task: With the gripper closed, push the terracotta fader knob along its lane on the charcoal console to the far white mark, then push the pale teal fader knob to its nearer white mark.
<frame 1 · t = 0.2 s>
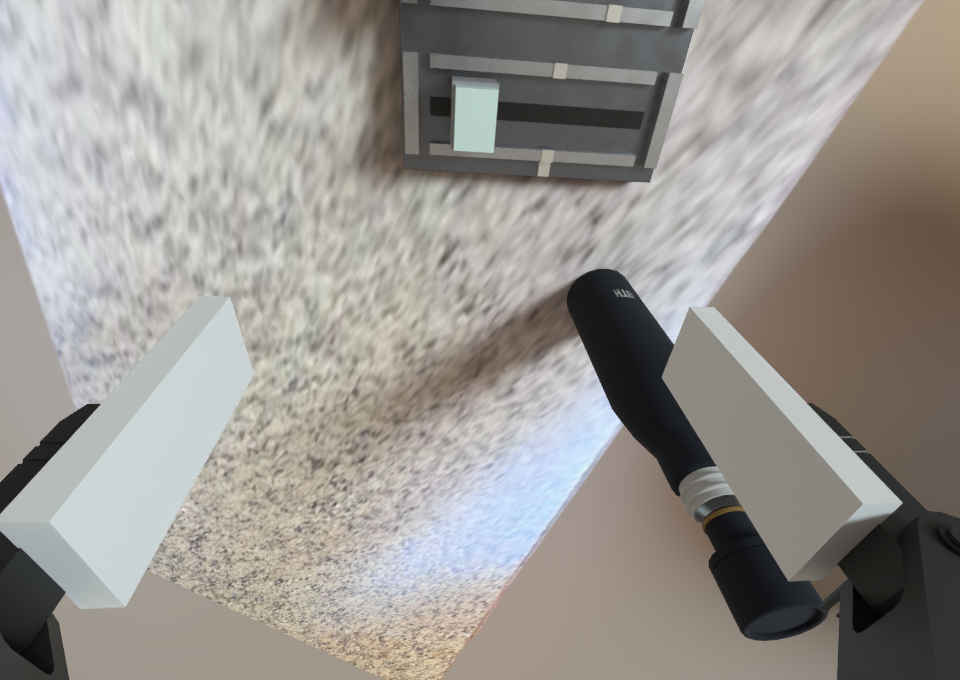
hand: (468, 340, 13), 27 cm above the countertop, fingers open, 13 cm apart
black water bottle: (597, 295, 44), on the countertop
console: (542, 39, 31), on the countertop
knob b: (473, 114, 29), point 5 cm above the countertop, slide at 2.0 cm
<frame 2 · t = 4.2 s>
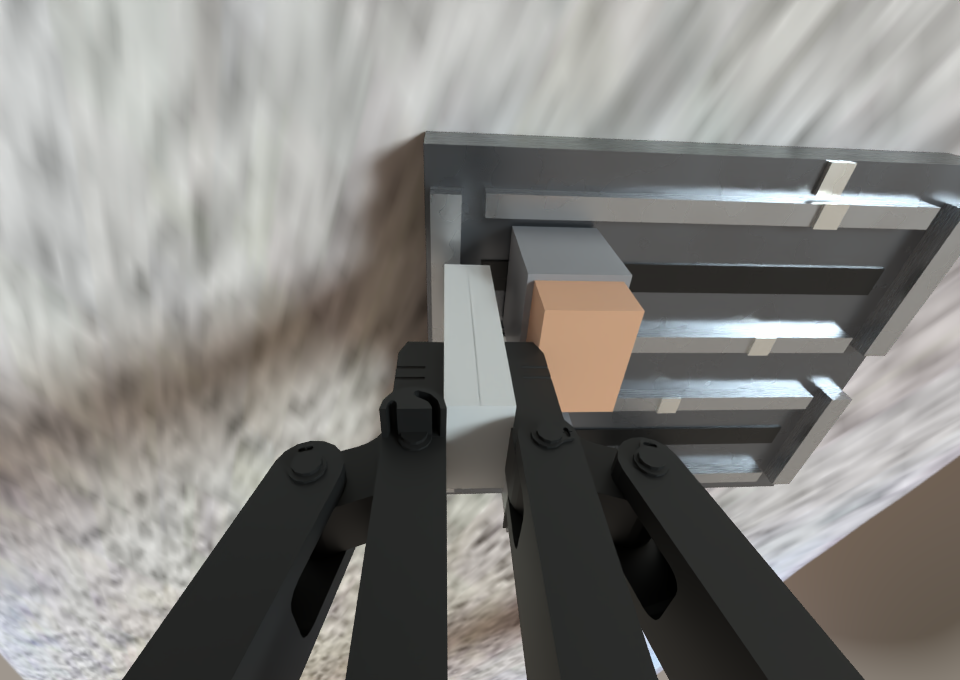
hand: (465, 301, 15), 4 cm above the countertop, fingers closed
knob a: (561, 315, 14), point 5 cm above the countertop, slide at 1.5 cm, touching gripper
console: (636, 341, 21), on the countertop
knob b: (540, 485, 19), point 5 cm above the countertop, slide at 2.0 cm
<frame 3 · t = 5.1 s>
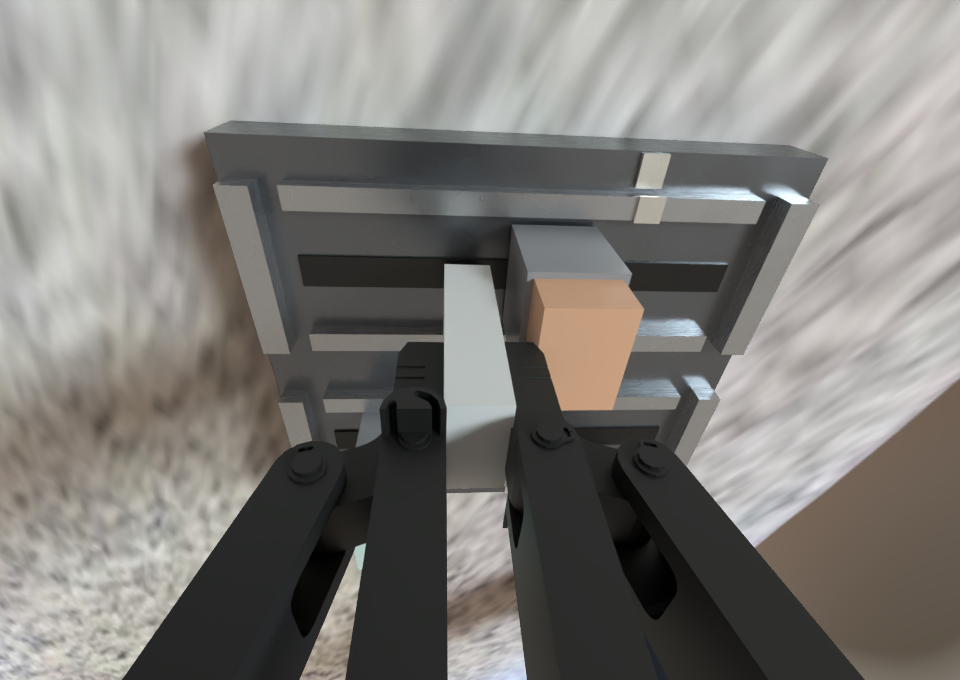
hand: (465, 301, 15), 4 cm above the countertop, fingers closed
knob a: (561, 314, 14), point 5 cm above the countertop, slide at 8.0 cm, touching gripper
console: (504, 340, 21), on the countertop
knob b: (393, 487, 19), point 5 cm above the countertop, slide at 2.0 cm
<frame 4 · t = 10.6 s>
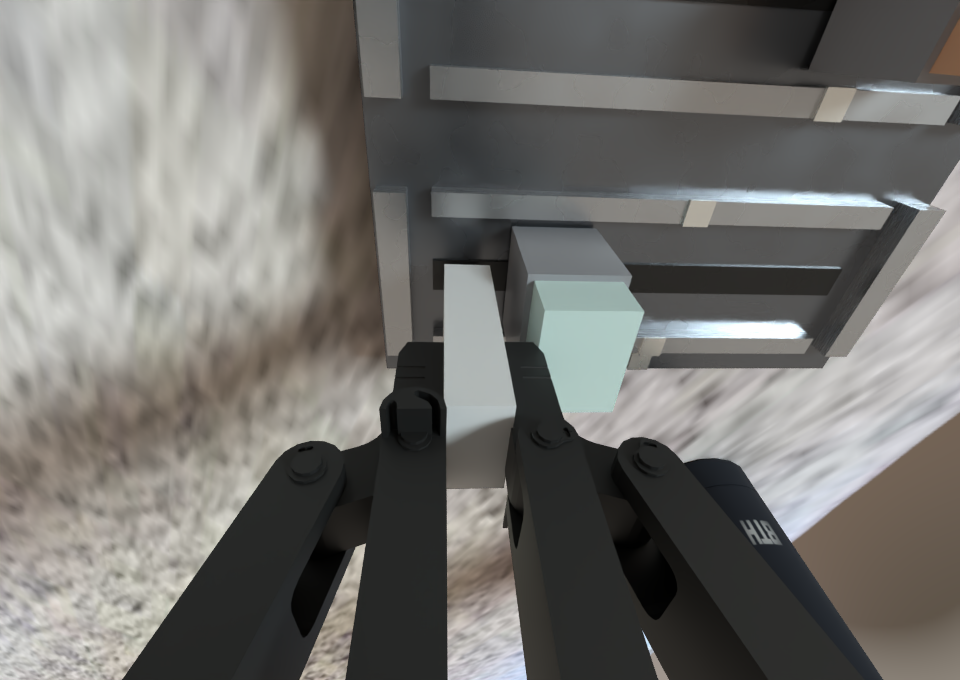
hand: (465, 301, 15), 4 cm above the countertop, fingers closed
black water bottle: (693, 486, 29), on the countertop
console: (653, 141, 16), on the countertop
knob b: (561, 315, 14), point 5 cm above the countertop, slide at 3.3 cm, touching gripper
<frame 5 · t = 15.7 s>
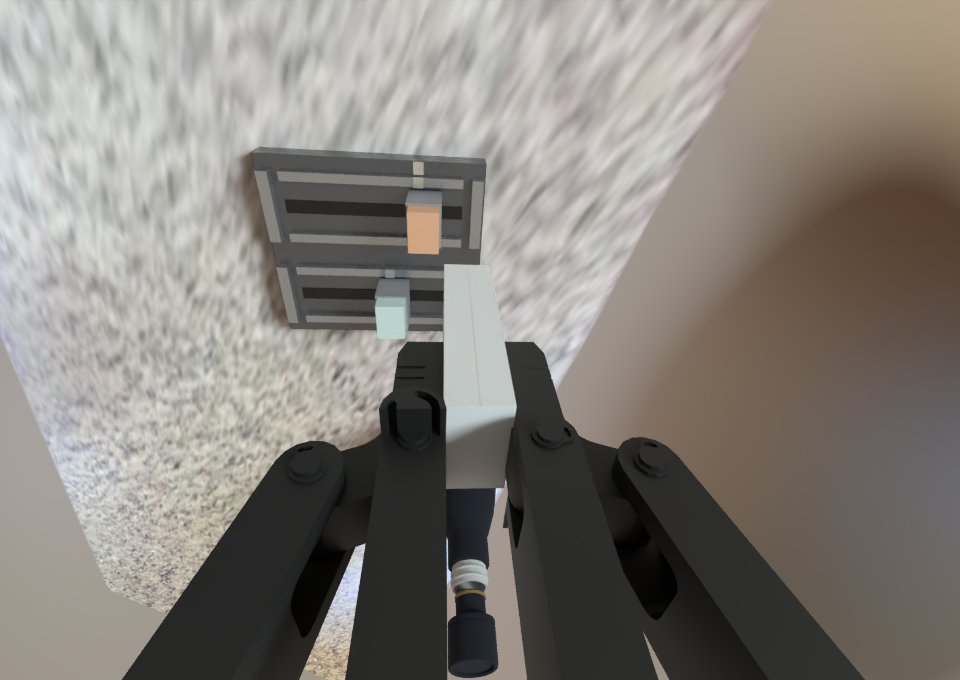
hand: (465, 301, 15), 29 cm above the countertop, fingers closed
black water bottle: (461, 396, 58), on the countertop
knob a: (424, 222, 38), point 5 cm above the countertop, slide at 11.6 cm
console: (381, 246, 44), on the countertop
knob b: (392, 308, 43), point 5 cm above the countertop, slide at 8.4 cm
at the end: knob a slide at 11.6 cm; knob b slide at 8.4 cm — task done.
